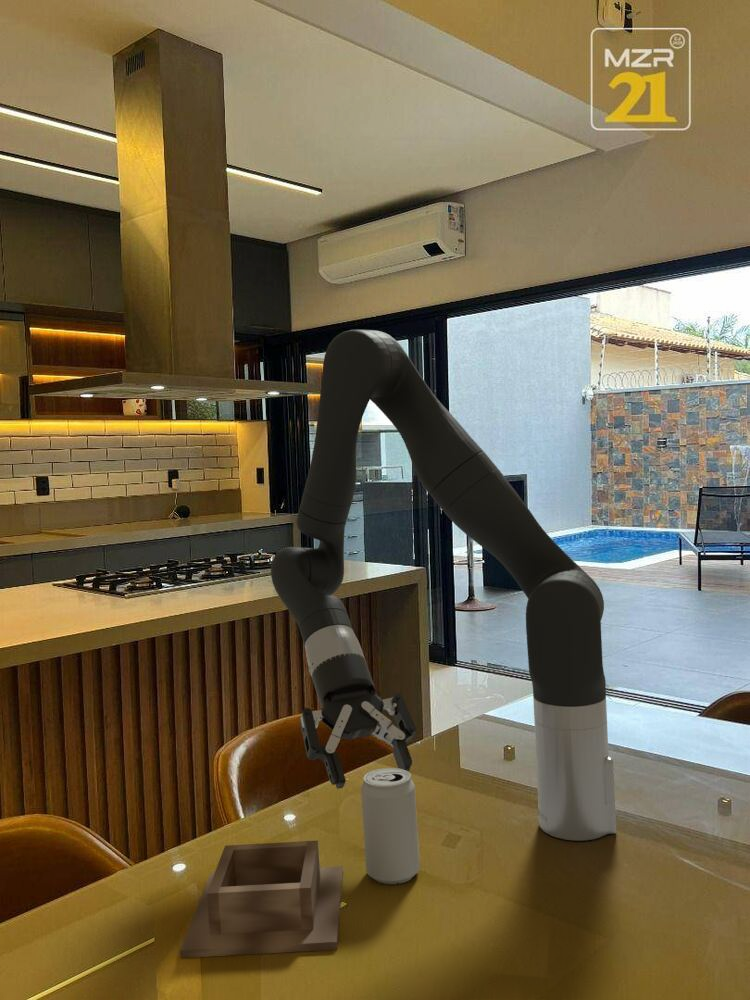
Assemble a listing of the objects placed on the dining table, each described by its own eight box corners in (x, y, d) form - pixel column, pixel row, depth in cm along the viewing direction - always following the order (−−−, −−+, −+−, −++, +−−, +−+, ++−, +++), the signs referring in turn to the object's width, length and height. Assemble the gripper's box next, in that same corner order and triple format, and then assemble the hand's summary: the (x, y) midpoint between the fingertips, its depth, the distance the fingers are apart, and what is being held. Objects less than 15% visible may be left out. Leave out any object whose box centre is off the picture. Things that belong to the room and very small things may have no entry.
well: (343, 872, 104) (340, 829, 104) (337, 949, 88) (333, 899, 88) (210, 879, 104) (207, 837, 104) (180, 957, 88) (176, 907, 88)
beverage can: (415, 888, 100) (409, 786, 99) (361, 886, 101) (354, 785, 100) (423, 862, 106) (418, 766, 105) (372, 860, 107) (366, 765, 106)
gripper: (291, 659, 111) (325, 776, 101) (393, 644, 117) (434, 754, 107) (283, 690, 117) (314, 804, 107) (380, 674, 122) (419, 781, 112)
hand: (374, 779), depth 107 cm, fingers open, 8 cm apart
